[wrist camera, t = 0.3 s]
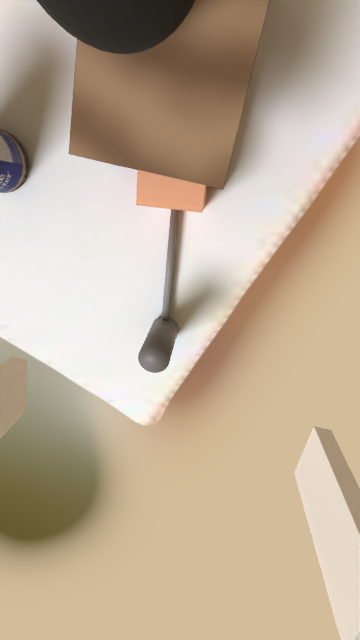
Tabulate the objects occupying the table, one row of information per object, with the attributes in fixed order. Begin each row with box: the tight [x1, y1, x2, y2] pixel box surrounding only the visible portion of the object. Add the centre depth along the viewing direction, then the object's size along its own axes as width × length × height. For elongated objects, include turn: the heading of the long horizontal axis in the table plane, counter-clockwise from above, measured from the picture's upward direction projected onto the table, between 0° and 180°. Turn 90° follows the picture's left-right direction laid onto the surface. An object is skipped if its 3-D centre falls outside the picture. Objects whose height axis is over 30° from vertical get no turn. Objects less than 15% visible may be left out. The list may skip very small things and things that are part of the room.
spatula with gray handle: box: [136, 170, 207, 373], centre depth 34 cm, size 22×6×8 cm, turn 174°
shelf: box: [69, 0, 269, 189], centre depth 27 cm, size 16×12×10 cm
